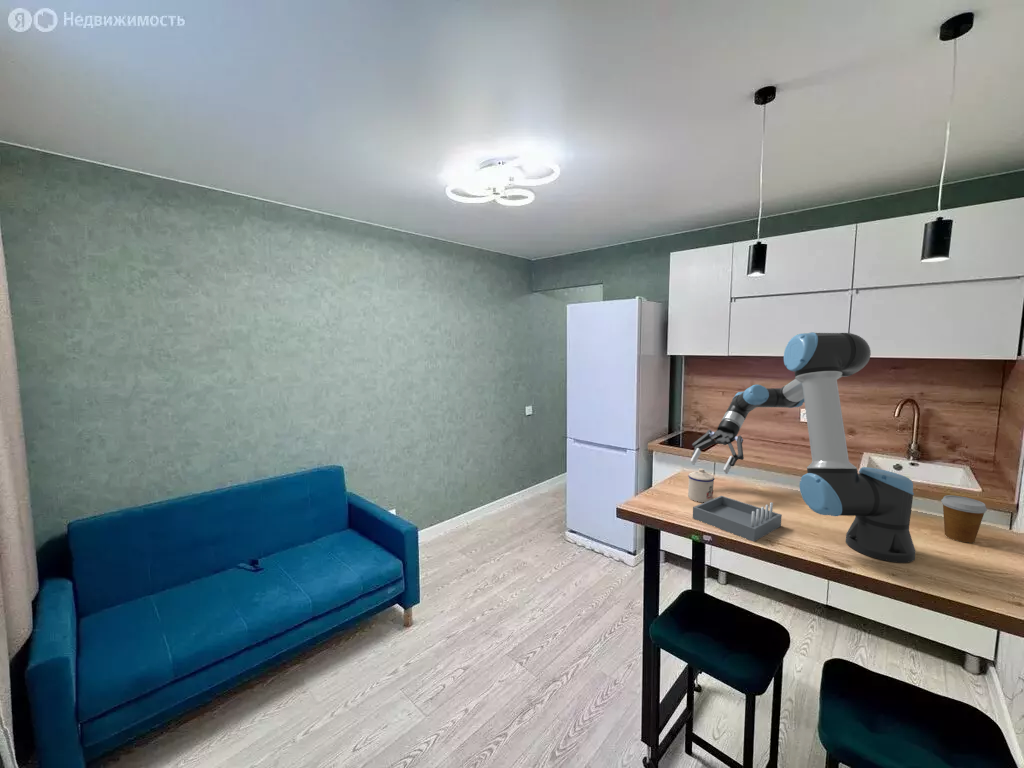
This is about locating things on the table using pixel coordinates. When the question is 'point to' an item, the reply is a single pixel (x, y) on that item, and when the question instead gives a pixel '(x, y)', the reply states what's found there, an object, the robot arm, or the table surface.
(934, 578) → the table surface
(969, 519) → the disposable coffee cup
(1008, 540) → the table surface
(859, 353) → the robot arm
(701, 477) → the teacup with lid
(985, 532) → the table surface
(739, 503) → the dish rack
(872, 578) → the table surface
